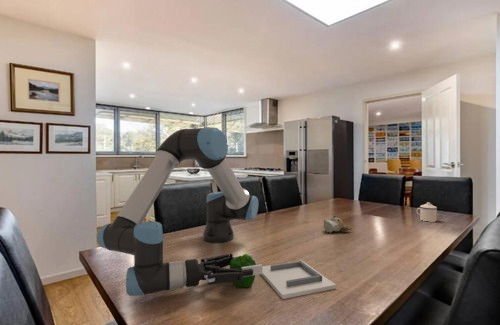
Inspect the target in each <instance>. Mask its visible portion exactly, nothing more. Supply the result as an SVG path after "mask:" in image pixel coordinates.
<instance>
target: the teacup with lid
mask: <svg viewBox="0 0 500 325" xmlns="http://www.w3.org/2000/svg"><path fill="white" fill-rule="evenodd" d="M437 209H438V207H437V206H435V205H433V204H432V203H431V202H428V201H427V202H426V203H425V204H421V205H420V206H419V207H417V208H416V213H417V215H418V216H419V217H420V218H419V219H420V220H419V221H421V220H423V221H422V222H424V221H429V222H428V223H436V222H435V221H437V218H438V216H437V215H438V213H437V212H438V210H437Z"/></svg>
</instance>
